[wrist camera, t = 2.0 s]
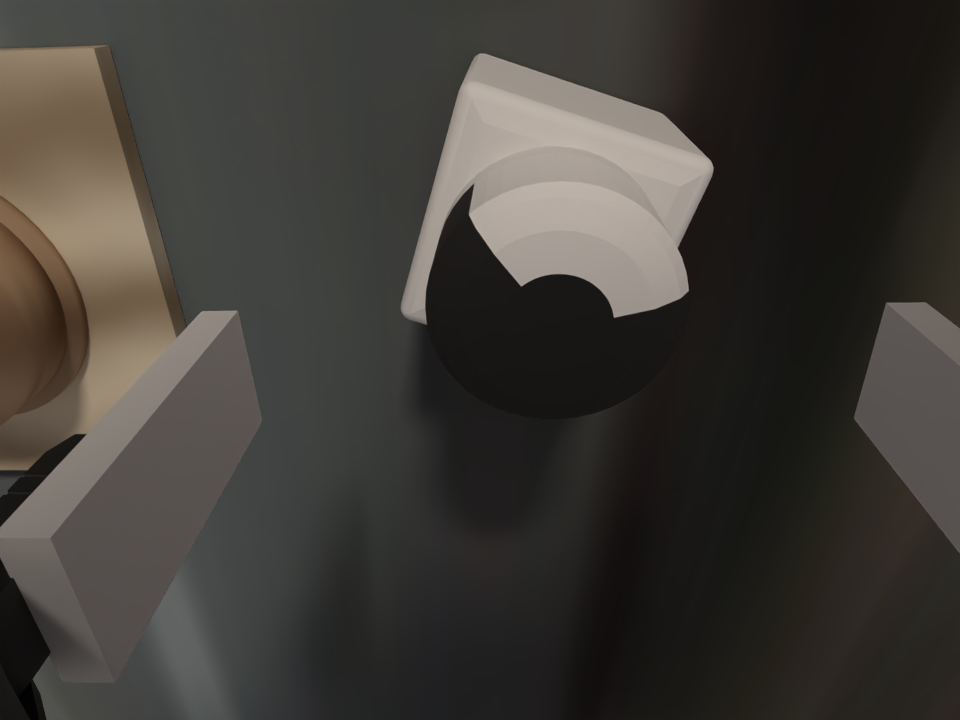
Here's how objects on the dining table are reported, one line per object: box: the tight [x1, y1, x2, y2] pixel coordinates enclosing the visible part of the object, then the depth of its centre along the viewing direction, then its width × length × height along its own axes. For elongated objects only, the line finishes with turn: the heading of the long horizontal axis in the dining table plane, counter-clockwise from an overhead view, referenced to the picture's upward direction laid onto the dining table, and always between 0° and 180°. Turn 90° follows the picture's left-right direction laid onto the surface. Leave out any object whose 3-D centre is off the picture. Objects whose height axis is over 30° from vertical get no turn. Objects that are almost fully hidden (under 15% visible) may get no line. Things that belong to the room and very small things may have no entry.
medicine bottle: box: [401, 54, 713, 419], centre depth 20 cm, size 7×7×12 cm
